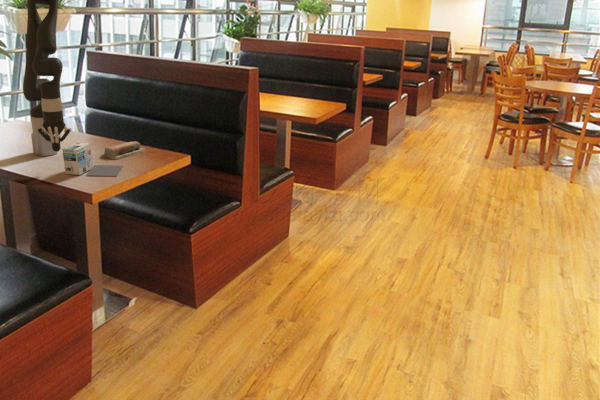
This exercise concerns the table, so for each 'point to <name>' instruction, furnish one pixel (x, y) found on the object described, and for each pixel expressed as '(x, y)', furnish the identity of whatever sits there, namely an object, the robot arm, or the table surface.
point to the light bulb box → (77, 158)
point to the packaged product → (123, 150)
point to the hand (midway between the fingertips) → (56, 151)
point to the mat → (105, 170)
